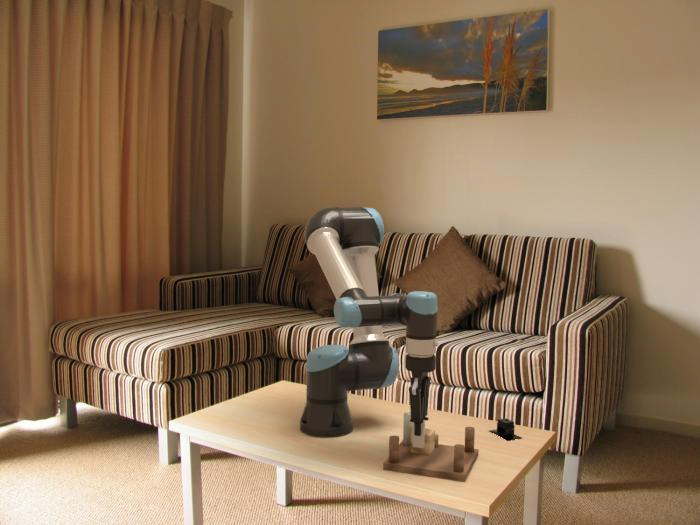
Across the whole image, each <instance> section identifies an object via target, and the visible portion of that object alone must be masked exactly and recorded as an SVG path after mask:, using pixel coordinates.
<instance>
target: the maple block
mask: <svg viewBox="0 0 700 525" xmlns="http://www.w3.org/2000/svg"><path fill="white" fill-rule="evenodd" d="M435 434H436V429H432V428H425V447H424V448H417V447H413V431H412V433H411V453H418V454H425V455H430V454H431V453H432V451H433V450H434V447H435Z"/></svg>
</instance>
